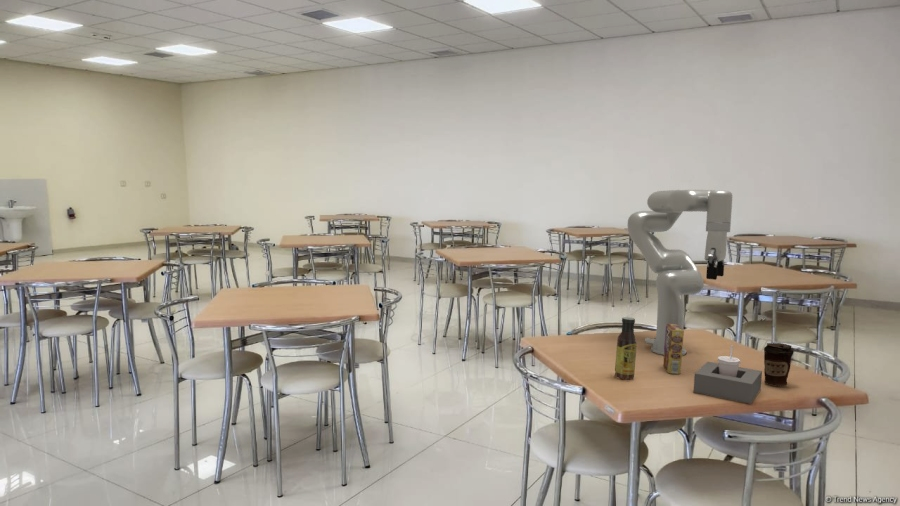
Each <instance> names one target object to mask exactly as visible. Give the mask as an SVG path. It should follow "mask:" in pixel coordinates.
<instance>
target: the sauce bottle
mask: <svg viewBox="0 0 900 506" xmlns="http://www.w3.org/2000/svg"><path fill="white" fill-rule="evenodd" d="M621 323H622V325H621V332H620V333H619V335H618V336H617V342H616V352H615V354H616V355H615V366H614V371H615V373H614V376H615V377H616V378H618V379H621V380H632V379H634V377H635V370H636V362H637V361H636V359H637V358H636V357H637V347H638V346H637V344H638V343H637V341H636V340H637V339H636V336H635V330H634V328H635V323H636V318H635V317H628V316H626V317H622V318H621Z"/></svg>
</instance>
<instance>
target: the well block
mask: <svg viewBox="0 0 900 506" xmlns="http://www.w3.org/2000/svg"><path fill="white" fill-rule="evenodd" d="M762 373H763V370H758V369H754V368H747V367H740V366H739V367H738V371H737V376H736V377H731V376H726V375H720V374H719V362H713V361H706V362H705V364H703V365H702V366H701V367H700V368H699V369H698V370H697V371H696V372H694V377H693V378H694V380H693V381H694V382H693V393H695V394H700V395H705V396H710V397H715V398H719V399H724V400H731V401H735V402H738V403H739V402H740V403H742V404H743V403H744V404H749V405H752V403H753V401H755V399H756V397H757V396H758V394H759V393H760V391H761V390H762Z"/></svg>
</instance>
